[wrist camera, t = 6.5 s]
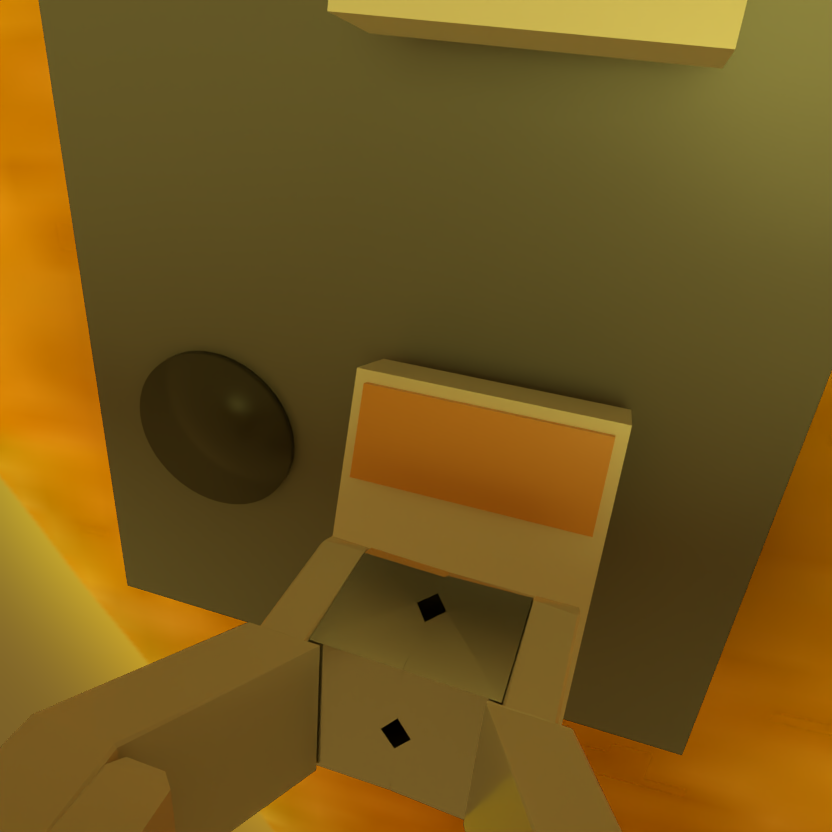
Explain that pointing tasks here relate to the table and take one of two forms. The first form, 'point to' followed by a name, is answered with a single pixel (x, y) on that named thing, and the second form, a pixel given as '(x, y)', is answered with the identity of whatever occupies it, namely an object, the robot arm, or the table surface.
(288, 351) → the rocker switch panel
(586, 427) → the rocker
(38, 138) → the table surface
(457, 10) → the rocker
